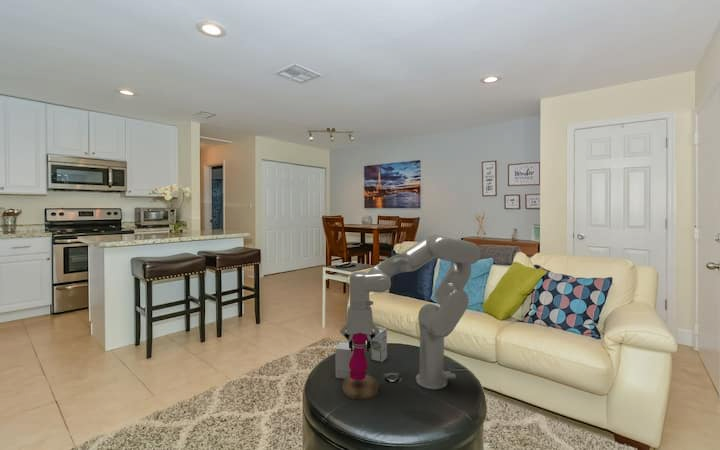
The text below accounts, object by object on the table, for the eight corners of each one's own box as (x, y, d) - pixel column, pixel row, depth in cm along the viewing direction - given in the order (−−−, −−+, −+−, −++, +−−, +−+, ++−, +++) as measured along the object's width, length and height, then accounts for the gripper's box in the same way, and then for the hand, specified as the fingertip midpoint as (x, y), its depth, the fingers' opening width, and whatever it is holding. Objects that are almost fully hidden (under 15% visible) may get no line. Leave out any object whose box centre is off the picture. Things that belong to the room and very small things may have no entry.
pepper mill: (344, 376, 138) (347, 326, 137) (355, 370, 144) (357, 321, 143) (360, 383, 134) (362, 330, 133) (370, 375, 140) (373, 325, 139)
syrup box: (387, 358, 167) (387, 327, 166) (381, 363, 162) (381, 331, 161) (376, 355, 170) (376, 325, 169) (370, 360, 165) (370, 329, 164)
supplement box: (352, 379, 147) (352, 350, 146) (335, 378, 149) (334, 348, 148) (356, 371, 155) (355, 342, 154) (339, 369, 156) (339, 341, 155)
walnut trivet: (377, 379, 147) (377, 374, 147) (379, 399, 133) (379, 392, 133) (343, 380, 147) (342, 374, 146) (341, 399, 133) (341, 393, 133)
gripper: (381, 301, 141) (381, 345, 142) (337, 301, 141) (338, 346, 142) (382, 307, 133) (382, 354, 135) (336, 307, 133) (337, 354, 135)
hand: (359, 349), depth 138 cm, fingers closed on pepper mill, 5 cm apart
